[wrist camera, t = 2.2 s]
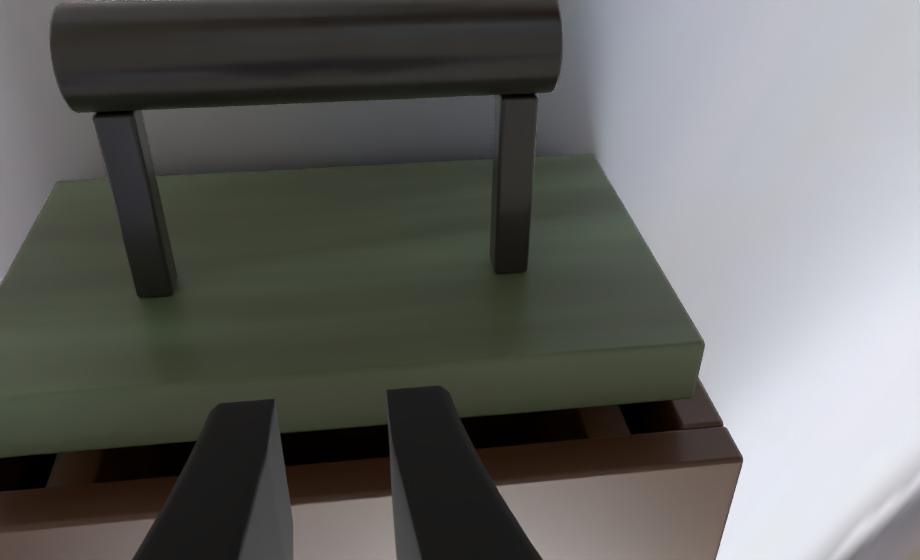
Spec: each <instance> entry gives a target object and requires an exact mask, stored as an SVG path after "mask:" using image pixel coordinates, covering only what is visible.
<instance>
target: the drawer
mask: <svg viewBox="0 0 920 560" xmlns="http://www.w3.org/2000/svg"><path fill="white" fill-rule="evenodd" d="M49 40H50V53H51V60H52V66H53V71H54V75H55V79H56V82H57V85H58V88H59V91H60V93H61V95H62V97H63V99H64V101H65V103H66V105H67V106H68V107H69V108H70V109H71V110H72V111H74V112H77V113H89V112H95V113H94V115H93V123H94V127H95V131H96V135H97V139H98V143H99V147H100V151H101V155H102V159H103V163H104V167H105V171H106V175H107V179H90V180H71V181H59V182H56V184H55V186H54V187H53V189H52V191H51V193H50V195H49V197H48V198H47V200H46V202H45V204H44V206H43V207H42V209H41V211H40V213H39V215H38V217H37V218H36V220H35V222H34V224H33V226H32V228H31V229H30V231H29V233H28V235H27V237H26V239H25V240H24V242H23V244H22V246H21V248H20V250H19V251H18V253H17V255H16V257H15V259H14V261H13V262H12V264H11V266H10V268H9V270H8V272H7V273H6V275H5V277H4V279H3V281H2V283H1V284H0V458H7V457H18V456H30V455H41V454H53V453H57V455H56V458H55V461H54V464H53V466H52V469H51V472H50V475H49V478H48V481H47V484H46V486H45V488H47V487H58V486H70V485H81V484H92V483H103V482H114V481H125V480H136V479H147V478H158V477H169V476H180V474H181V472H182V470H183V468H184V466H185V464H186V462H187V460H188V458H189V456H190V454H191V452H192V450H193V448H194V446H195V444H196V442H197V439H198V437H199V435H200V433H201V431H202V429H203V427H204V424H205V422H206V420H207V417H208V415H209V413H210V411H211V410H212V409H213V408H214V407H216V406H217V405H218V404H219V403H229V402H242V401H254V400H266V399H275V405H276V412H277V419H278V425H279V432H280V438H281V445H282V451H283V458H284V464H285V466H290V465H301V464H312V463H323V462H334V461H345V460H356V459H367V458H378V457H390V448H389V429H388V410H387V391H386V390H389V389H401V388H413V387H425V386H438V385H440V386H442V387H443V388H444V389H446V390H447V391H448V392H450V395H451V398H452V401H453V403H454V406H455V408H456V410H457V413H458V415H459V417H460V420H461V422H462V424H463V426H464V428H465V430H466V432H467V434H468V436H469V438H470V440H471V442H472V444H473V446H474V448H475V449H478V448H489V447H500V446H511V445H522V444H533V443H544V442H555V441H566V440H577V439H588V438H599V437H610V436H621V435H631V433H630V431H629V428H628V426H627V424H626V421H625V419H624V416H623V414H622V412H621V409H620V407H619V405H621V404H632V403H644V402H655V401H667V400H679V399H690V398H692V397H693V396H694V392H695V388H696V383H697V379H698V374H699V370H700V365H701V361H702V356H703V352H704V347H705V343H704V341H703V339H702V337H701V335H700V334H699V332H698V330H697V329H696V327H695V325H694V324H693V322H692V320H691V319H690V317H689V315H688V313H687V312H686V310H685V308H684V307H683V305H682V303H681V302H680V300H679V298H678V296H677V295H676V293H675V291H674V290H673V288H672V286H671V285H670V283H669V281H668V280H667V278H666V276H665V274H664V273H663V271H662V269H661V268H660V266H659V264H658V263H657V261H656V259H655V258H654V256H653V254H652V252H651V251H650V249H649V247H648V246H647V244H646V242H645V241H644V239H643V237H642V236H641V234H640V232H639V230H638V229H637V227H636V225H635V224H634V222H633V220H632V219H631V217H630V215H629V214H628V212H627V210H626V208H625V207H624V205H623V203H622V202H621V200H620V198H619V197H618V195H617V193H616V191H615V190H614V188H613V186H612V185H611V183H610V181H609V180H608V178H607V176H606V175H605V173H604V171H603V169H602V168H601V166H600V164H599V163H598V161H597V159H596V158H595V156H594V155H593V154H576V155H557V156H538V157H535V149H536V134H537V118H538V103H539V99H538V97H537V95H536V93H550V92H552V91H554V90H555V88H556V86H557V84H558V81H559V77H560V73H561V67H562V58H563V26H562V17H561V11H560V6H559V2H558V0H160V1H125V2H90V3H62V4H59V5H57V6H56V7H55V8H54V10H53V13H52V16H51V21H50V33H49ZM486 95H495V115H494V144H493V159H479V160H460V161H440V162H421V163H401V164H382V165H363V166H343V167H324V168H304V169H285V170H265V171H246V172H226V173H207V174H187V175H168V176H156V174H155V170H154V165H153V160H152V156H151V151H150V146H149V142H148V137H147V132H146V128H145V123H144V118H143V114H142V110H159V109H183V108H206V107H229V106H253V105H276V104H299V103H323V102H346V101H369V100H393V99H416V98H440V97H463V96H486Z"/></svg>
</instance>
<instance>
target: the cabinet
mask: <svg viewBox="0 0 920 560" xmlns="http://www.w3.org/2000/svg"><path fill="white" fill-rule="evenodd" d="M619 407H620V409H621V412H622V414H623V416H624V419H625V421H626V424H627V426H628V428H629V431H630V433H631V435H621V436H610V437H599V438H588V439H577V440H566V441H555V442H544V443H533V444H522V445H511V446H500V447H489V448H478V449H475V450H476V452H477V454H478V455H479V457H480V459H481V461H482V463H483V465H484V466H485V468H486V470H487V472H488V474H489V475H490V477H491V479H492V481H493V482H494V484H495V486H496V487H497V489H498V491H499V492H500V494H501V496H502V497H503V499H504V500H505V502H506V504H507V505H508V507H509V508H510V510H511V512H512V513H513V515H514V516H515V518H516V519H517V521H518V523H519V524H520V526H521V527H522V529H523V530H524V532H525V534H526V535H527V537H528V538H529V540H530V541H531V543H532V544H533V546H534V547H535V549H536V550H537V552H538V553H539V555H540V556H541V558H542V559H543V560H716V556H717V553H718V549H719V545H720V542H721V538H722V535H723V531H724V528H725V524H726V520H727V517H728V513H729V510H730V506H731V503H732V499H733V495H734V492H735V488H736V485H737V481H738V478H739V474H740V470H741V467H742V463H743V457H742V455H741V453H740V451H739V449H738V448H737V446H736V444H735V442H734V440H733V439H732V437H731V435H730V433H729V431H728V430H727V428H726V427H723V421H722V419H721V417H720V416H719V414H718V412H717V410H716V408H715V407H714V405H713V403H712V401H711V399H710V397H709V396H708V394H707V392H706V390H705V388H704V387H703V385H702V383H701V381H700V379H699V378H698V379H697V383H696V388H695V392H694V396H693V397H692V398H690V399H679V400H667V401H655V402H644V403H632V404H621V405H619ZM56 455H57V453H53V454H41V455H30V456H18V457H7V458H0V560H132V559H133V557H134V556H135V554H136V552H137V550H138V549H139V547H140V545H141V544H142V542H143V540H144V538H145V537H146V535H147V533H148V531H149V530H150V528H151V526H152V525H153V523H154V521H155V519H156V518H157V516H158V514H159V513H160V511H161V509H162V507H163V506H164V504H165V502H166V500H167V498H168V496H169V494H170V493H171V491H172V489H173V487H174V485H175V483H176V481H177V479H178V478H179V476H169V477H158V478H147V479H136V480H125V481H114V482H103V483H92V484H81V485H70V486H58V487H47V488H45V486H46V484H47V481H48V478H49V475H50V472H51V469H52V466H53V464H54V461H55V458H56ZM285 471H286V478H287V484H288V491H289V497H290V504H291V510H292V517H293V560H397V558H396V545H395V533H394V520H393V505H392V486H391V467H390V457H378V458H367V459H356V460H345V461H334V462H323V463H312V464H301V465H290V466H285Z"/></svg>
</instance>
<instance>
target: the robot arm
mask: <svg viewBox="0 0 920 560" xmlns="http://www.w3.org/2000/svg"><path fill="white" fill-rule="evenodd" d="M386 391H387V410H388V429H389V448H390V467H391V486H392V505H393V520H394V533H395V545H396V558H397V560H543V559H542V558H541V556H540V555H539V553H538V552H537V550H536V549H535V547H534V546H533V544H532V543H531V541H530V540H529V538H528V537H527V535H526V534H525V532H524V530H523V529H522V527H521V526H520V524H519V523H518V521H517V519H516V518H515V516H514V515H513V513H512V512H511V510H510V508H509V507H508V505H507V504H506V502H505V500H504V499H503V497H502V496H501V494H500V492H499V491H498V489H497V487H496V486H495V484H494V482H493V481H492V479H491V477H490V475H489V474H488V472H487V470H486V468H485V466H484V465H483V463H482V461H481V459H480V457H479V455H478V454H477V452H476V450H475V448H474V446H473V444H472V442H471V440H470V438H469V436H468V434H467V432H466V430H465V428H464V426H463V424H462V422H461V420H460V417H459V415H458V413H457V410H456V408H455V406H454V403H453V401H452V398H451V395H450V392H448V391H447V390H446V389H444V388H443V387H442V386H440V385H438V386H425V387H413V388H401V389H389V390H386ZM132 560H293V517H292V510H291V504H290V497H289V491H288V484H287V478H286V471H285V464H284V458H283V451H282V445H281V438H280V432H279V425H278V419H277V412H276V405H275V399H266V400H254V401H242V402H229V403H219V404H218V405H217V406H216V407H214V408H213V409H212V410H211V411H210V413H209V415H208V417H207V420H206V422H205V424H204V427H203V429H202V431H201V433H200V435H199V437H198V439H197V442H196V444H195V446H194V448H193V450H192V452H191V454H190V456H189V458H188V460H187V462H186V464H185V466H184V468H183V470H182V472H181V474H180V476H179V478H178V479H177V481H176V483H175V485H174V487H173V489H172V491H171V493H170V494H169V496H168V498H167V500H166V502H165V504H164V506H163V507H162V509H161V511H160V513H159V514H158V516H157V518H156V519H155V521H154V523H153V525H152V526H151V528H150V530H149V531H148V533H147V535H146V537H145V538H144V540H143V542H142V544H141V545H140V547H139V549H138V550H137V552H136V554H135V556H134V557H133V559H132Z"/></svg>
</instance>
